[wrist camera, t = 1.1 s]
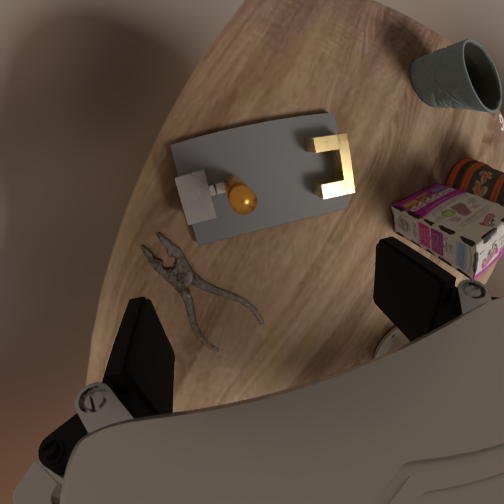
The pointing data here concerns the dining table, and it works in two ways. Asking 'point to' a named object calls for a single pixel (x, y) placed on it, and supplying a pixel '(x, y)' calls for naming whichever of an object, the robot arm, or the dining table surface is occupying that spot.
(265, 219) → the tie down board
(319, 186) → the bracket
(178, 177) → the block
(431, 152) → the dining table surface
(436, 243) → the candy bar box
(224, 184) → the amber lever
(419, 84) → the grey green cup
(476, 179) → the beer stein
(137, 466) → the robot arm
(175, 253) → the pliers
